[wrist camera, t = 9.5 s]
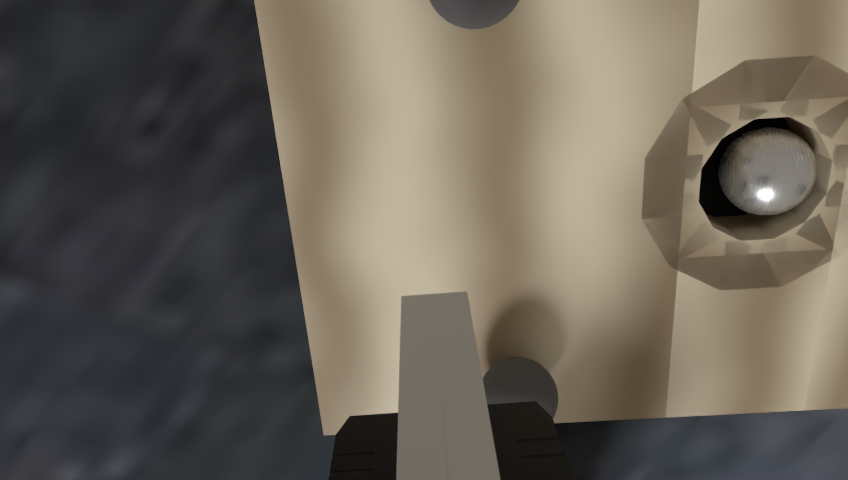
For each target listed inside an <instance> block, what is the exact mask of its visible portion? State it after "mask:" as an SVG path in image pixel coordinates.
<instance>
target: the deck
mask: <svg viewBox="0 0 848 480" xmlns="http://www.w3.org/2000/svg"><path fill="white" fill-rule="evenodd" d="M254 2H255V8H256V14H257V20H258V27H259V33H260V39H261V45H262V52H263V58H264V64H265V70H266V77H267V83H268V89H269V95H270V102H271V108H272V114H273V121H274V127H275V133H276V139H277V146H278V152H279V158H280V164H281V171H282V177H283V183H284V189H285V196H286V202H287V208H288V214H289V221H290V227H291V233H292V239H293V246H294V252H295V258H296V264H297V271H298V277H299V283H300V289H301V296H302V302H303V308H304V314H305V321H306V327H307V333H308V339H309V346H310V352H311V358H312V364H313V371H314V377H315V383H316V389H317V396H318V402H319V408H320V414H321V421H322V427H323V433H324V435H336V434H337V432H338V431H339V430H340V428H341V427H342V426H343V424H344V423H345V422H346V420H347V419H348V418H349V416H357V415H371V414H385V413H398V399H399V363H400V327H401V296H409V295H423V294H437V293H451V292H465V291H467V294H468V299H469V305H470V311H471V316H472V322H473V328H474V333H475V339H476V344H477V350H478V356H479V361H480V367H481V373H482V378H483V377H484V375H485V374H486V372H487V371H488V370H489V369H490V368H491V367H492V366H493V365H494V364H496V363H497V362H499V361H501V360H503V359H506V358H511V357H524V358H528V359H531V360H533V361H535V362H537V363H539V364H540V365H542V366H543V367H544V368H545V369H546V370H547V371H548V372H549V373H550V375H551V376H552V378H553V379H554V382H555V384H556V387H557V391H558V406H557V410H556V413H555V416H554V418H553V421H554V423H570V422H589V421H608V420H627V419H646V418H666V417H685V416H704V415H723V414H743V413H762V412H781V411H800V410H819V409H839V408H848V0H519V2H518V4H517V5H516V7H515V8H514V9H513V11H512V12H511V13H510V14H509V15H508V16H507V17H506V18H504V19H503V20H502V21H500V22H498V23H497V24H495V25H492V26H490V27H487V28H482V29H465V28H461V27H458V26H455V25H453V24H451V23H449V22H448V21H446V20H445V19H444V18H442V17H441V16H440V15H439V14H438V13H437V12H436V10H435V9H434V8H433V6H432V4H431V3H430V1H429V0H254ZM780 117H784V118H785V120H786V122H787V124H788V126H789V128H790V130H791V132H793V133H795V134H797V135H798V136H800V137H801V138H802V139H803V140H805V141H806V142H807V144H808V145H809V146H810V148H811V149H812V151H813V153H814V155H815V159H816V163H817V176H816V180H815V183H814V186H813V188H812V190H811V191H810V193H809V194H808V195H807V197H806V198H805V199H804V200H803V201H802V202H801V203H800V204H798V205H797V206H795V207H794V208H792V209H790V210H788V211H786V212H783V213H779V214H775V215H756V214H752V213H747V214H745V215H736V216H720V217H713V216H711V215H709V214H707V213H705V212H704V210H703V208H702V207H701V205H700V203H699V192H700V181H701V169H702V168H703V166H704V165H705V163H706V162H707V160H708V159H709V157H710V156H711V154H712V153H713V151H714V150H715V148H716V147H717V145H718V144H719V142H720V141H721V139H722V138H724V137H725V136H727V135H729V134H731V133H732V132H734V131H736V130H737V129H739V128H741V127H742V126H744V125H746V124H747V123H749V122H751V121H753V120H754V119H765V118H780Z"/></svg>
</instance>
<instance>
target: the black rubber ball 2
mask: <svg viewBox="0 0 848 480" xmlns="http://www.w3.org/2000/svg"><path fill="white" fill-rule="evenodd" d="M483 384H484V389H485V395H486V401H487V404H501V403H515V402H530V401H536V402H537V403H538V404H539V405H540V406H541V407H542V408H543V409H544V410H546V411H547V412H548V413H549V414H550V415H551V416H552V418H554V416H555V413H556V410H557V406H558V391H557V387H556V384H555V382H554V379H553V378H552V376H551V375H550V373H549V372H548V371H547V370H546V369H545V368H544V367H543V366H542V365H540V364H539V363H537V362H535V361H533V360H531V359H528V358H524V357H511V358H506V359H503V360H501V361H499V362H497V363H496V364H494V365H493V366H492V367H491V368H490V369H489V370H488V371H487V372H486V374H485V375H484V377H483Z"/></svg>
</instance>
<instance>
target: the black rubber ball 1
mask: <svg viewBox="0 0 848 480" xmlns="http://www.w3.org/2000/svg"><path fill="white" fill-rule="evenodd" d="M429 1H430V3H431V4H432V6H433V8H434V9H435V10H436V12H437V13H438V14H439V15H440V16H441V17H442V18H444V19H445V20H446V21H448V22H449V23H451V24H453V25H455V26H458V27H461V28H465V29H482V28H487V27H490V26H492V25H495V24H497V23H498V22H500V21H502V20H503V19H504V18H506V17H507V16H508V15H509V14H510V13H511V12H512V11H513V9H514V8H515V7H516V5H517V4H518V2H519V0H429Z"/></svg>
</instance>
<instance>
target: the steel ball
mask: <svg viewBox="0 0 848 480" xmlns="http://www.w3.org/2000/svg"><path fill="white" fill-rule="evenodd" d="M718 176H719V182H720V186H721V188H722V191H723V193H724V194H725V196H726V197H727V198H728V200H729V201H730V202H731V203H733V204H734V205H735V206H736V207H738V208H740V209H741V210H743V211H746V212H748V213H752V214H756V215H775V214H779V213H783V212H786V211H788V210H790V209H792V208H794V207H795V206H797V205H798V204H800V203H801V202H802V201H803V200H804V199H805V198H806V197H807V195H808V194H809V193H810V191H811V190H812V188H813V186H814V183H815V180H816V176H817V163H816V159H815V155H814V153H813V151H812V149H811V148H810V146H809V145H808V144H807V142H806V141H805V140H803V139H802V138H801V137H800V136H798V135H797V134H795V133H793V132H791V131H788V130H786V129H782V128H776V127H764V128H758V129H754V130H751V131H749V132H746V133H744V134H742V135H741V136H739V137H738V138H737V139H735V140H734V141H733V142H732V143H731V144H730V145H729V146H728V148H727V149H726V150H725V152H724V154H723V156H722V158H721V161H720V164H719V170H718Z"/></svg>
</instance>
